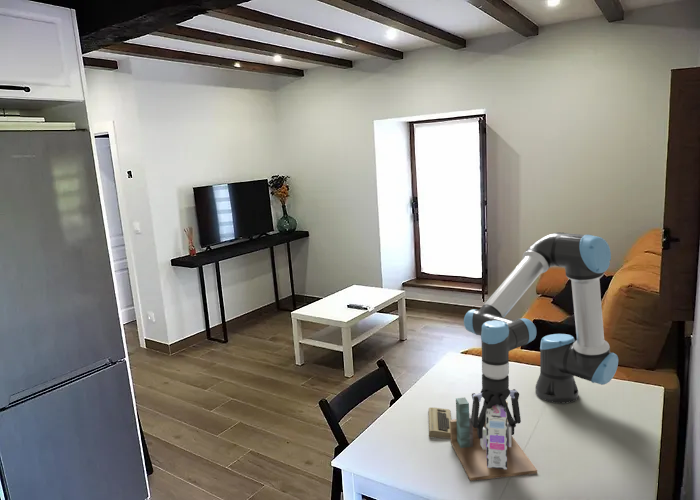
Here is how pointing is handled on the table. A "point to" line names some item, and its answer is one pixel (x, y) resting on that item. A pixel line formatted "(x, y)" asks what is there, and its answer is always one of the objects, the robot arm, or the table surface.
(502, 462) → the candy box
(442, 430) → the computer
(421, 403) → the table surface
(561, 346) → the robot arm
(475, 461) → the shelf
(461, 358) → the table surface
